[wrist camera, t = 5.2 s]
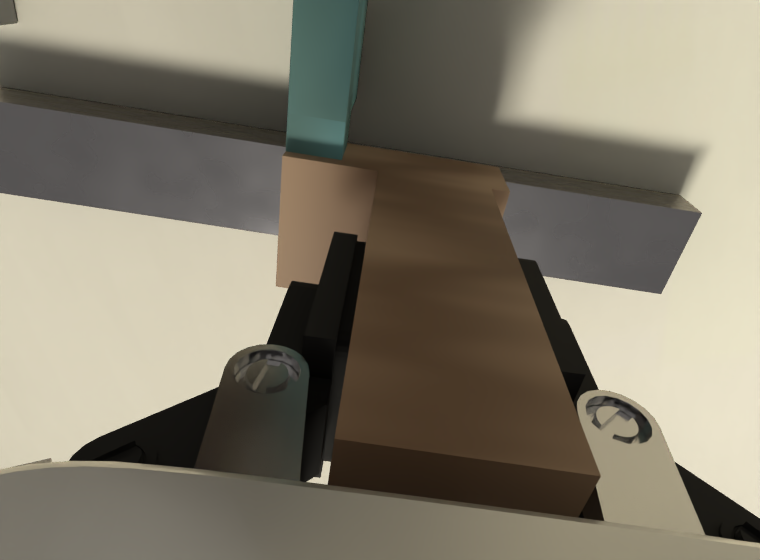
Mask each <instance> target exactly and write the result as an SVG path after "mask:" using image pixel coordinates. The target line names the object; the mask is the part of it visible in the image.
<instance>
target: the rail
mask: <svg viewBox="0 0 760 560" xmlns="http://www.w3.org/2000/svg"><path fill="white" fill-rule="evenodd" d="M286 133H287V132H280V131H274V130H268V129H262V128H255V127H249V126H243V125H236V124H230V123H224V122H218V121H211V120H205V119H199V118H193V117H186V116H180V115H174V114H167V113H161V112H155V111H149V110H142V109H136V108H130V107H124V106H117V105H111V104H105V103H98V102H92V101H86V100H80V99H73V98H67V97H61V96H55V95H48V94H42V93H36V92H30V91H23V90H17V89H11V88H4V87H0V193H5V194H11V195H18V196H24V197H31V198H37V199H44V200H50V201H57V202H63V203H70V204H77V205H83V206H90V207H96V208H103V209H109V210H116V211H122V212H129V213H135V214H142V215H148V216H155V217H161V218H168V219H174V220H181V221H188V222H194V223H201V224H207V225H214V226H220V227H227V228H233V229H240V230H246V231H253V232H259V233H266V234H272V235H278V234H279V213H280V193H281V173H282V156H283V154H284V153H285V151H286ZM347 143H349V142H347ZM349 144H355V145H362V144H356V143H349ZM362 146H368V145H362ZM368 147H374V146H368ZM374 148H381V147H374ZM381 149H387V148H381ZM387 150H393V149H387ZM393 151H399V152H406V151H400V150H393ZM406 153H412V152H406ZM412 154H418V153H412ZM418 155H424V156H431V155H425V154H418ZM431 157H437V156H431ZM437 158H443V157H437ZM443 159H450V158H443ZM450 160H456V159H450ZM456 161H462V160H456ZM462 162H468V161H462ZM468 163H475V162H468ZM475 164H481V163H475ZM481 165H487V164H481ZM487 166H493V167H499V169H500V171H501V173H502V175H503V178H504V180H505V182H506V184H507V186H508V188H509V191H510V194H509V197H508V201H507V204H506V208H505V211H504V214H503V221H504V223H505V226H506V229H507V231H508V234H509V236H510V239H511V242H512V244H513V247H514V250H515V252H516V255H517V257H518V258H522V259H528V260H535V261H536V262H537V264H538V267H539V269H540V271H541V274H542V276H547V277H553V278H560V279H566V280H573V281H579V282H586V283H592V284H599V285H606V286H612V287H619V288H625V289H632V290H638V291H645V292H651V293H658V294H661V293H662V291H663V289H664V287H665V285H666V283H667V281H668V279H669V277H670V275H671V273H672V271H673V269H674V267H675V265H676V263H677V261H678V259H679V257H680V255H681V254H682V252H683V250H684V248H685V246H686V244H687V242H688V240H689V238H690V236H691V234H692V232H693V230H694V228H695V226H696V224H697V222H698V220H699V218H700V216H701V214H702V213H701V212H700V211H699V210H698V209H696V208H695V207H694V206H693V205H691V204H690V203H689V202H688V201H687V200H685V199H684V198H683V197H682V196H680V195H675V194H669V193H663V192H657V191H650V190H644V189H638V188H632V187H625V186H619V185H613V184H606V183H600V182H594V181H588V180H581V179H575V178H569V177H563V176H556V175H550V174H544V173H537V172H531V171H525V170H519V169H512V168H506V167H500V166H494V165H487Z"/></svg>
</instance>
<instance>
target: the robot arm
mask: <svg viewBox="0 0 760 560" xmlns="http://www.w3.org/2000/svg"><path fill="white" fill-rule="evenodd" d="M357 238H358V235H356V234H349V233H342V232H335V231H334V234H333V237H332V241H331V244H330V247H329V251H328V254H327V258H326V261H325V264H324V268H323V271H322V274H321V278H320V281H319V284H312V283H305V282H298V281H291V283H290V285H289V288H288V290H287V293H286V295H285V298H284V301H283V303H282V306H281V308H280V311H279V314H278V316H277V319H276V321H275V324H274V326H273V329H272V332H271V334H270V337H269V339H268V342H267V344H266V345H256V346H252V347H248V348H246V349H244V350H241V351H239V352H237V353H236V354H235V355H234V356H233V357H232V358H230V359H229V361H228V363H227V364H226V366H225V368H224V372H223V375H222V378H221V382H220V385H219V387H218V388H215V389H213V390H210V391H208V392H206V393H203V394H201V395H198V396H196V397H194V398H191V399H189V400H187V401H184V402H182V403H179V404H177V405H175V406H172V407H170V408H167V409H165V410H163V411H160V412H158V413H155V414H153V415H151V416H148V417H146V418H144V419H141V420H139V421H136V422H134V423H132V424H129V425H127V426H124V427H122V428H120V429H117V430H115V431H113V432H110V433H108V434H105V435H103V436H101V437H99V438H97V439H95V440H93V441H91V442H89V443H88V444H86V445H84V446H83V447H82V448H81V449H80V450H78V451H77V452H76V453H75V454H74V455H73V456H72V457H71V459H70V460H69V461H64V462H52V459H51V458H49V459H45V460H41V461H36V462H32V463H28V464H23V465H19V466H15V467H10V468H5V469H0V560H760V518H758V517H757V516H755V515H754V514H752V513H751V512H749V511H748V510H746V509H745V508H743V507H742V506H740V505H739V504H737V503H736V502H734V501H733V500H731V499H730V498H728V497H727V496H725V495H724V494H722V493H721V492H719V491H718V490H716V489H715V488H713V487H712V486H710V485H709V484H707V483H706V482H704V481H703V480H701V479H700V478H698V477H697V476H695V475H694V474H692V473H691V472H689V471H688V470H686V469H685V468H683V467H682V466H680V465H679V464H677V463H676V462H674V459H673V457H672V455H671V452H670V450H669V448H668V445H667V443H666V441H665V438H664V436H663V433H662V431H661V429H660V427H659V425H658V423H657V422H656V420H655V418H654V417H653V416H652V415H651V414H650V413H649V412H648V411H647V410H646V409H645V408H643V407H642V406H641V405H639V404H638V403H636V402H635V401H633V400H631V399H629V398H627V397H625V396H623V395H621V394H617V393H614V392H611V391H604V390H599V389H598V387H597V385H596V383H595V381H594V378H593V376H592V374H591V372H590V370H589V367H588V365H587V363H586V361H585V359H584V356H583V354H582V352H581V350H580V347H579V345H578V343H577V341H576V339H575V336H574V334H573V332H572V330H571V328H570V325H569V324H568V322H567V321H566V320H564V319H561V317H560V315H559V312H558V310H557V308H556V306H555V303H554V301H553V299H552V296H551V294H550V292H549V290H548V287H547V285H546V283H545V280H544V278H543V276H542V274H541V271H540V269H539V267H538V264H537V262H536V261H535V260H528V259H522V258H518V260H519V263H520V265H521V268H522V270H523V273H524V276H525V278H526V281H527V284H528V286H529V289H530V291H531V294H532V297H533V299H534V302H535V305H536V307H537V310H538V312H539V315H540V318H541V320H542V323H543V326H544V328H545V331H546V333H547V336H548V339H549V341H550V344H551V347H552V349H553V352H554V354H555V357H556V360H557V362H558V365H559V367H560V370H561V373H562V375H563V378H564V381H565V383H566V386H567V388H568V391H569V394H570V396H571V399H572V402H573V404H574V407H575V409H576V412H577V415H578V417H579V420H580V423H581V425H582V428H583V430H584V433H585V436H586V438H587V441H588V443H589V446H590V449H591V451H592V454H593V457H594V459H595V462H596V464H597V467H598V470H599V472H600V475H601V477H600V479H599V481H598V483H597V484H596V486H595V488H594V490H593V492H592V493H591V495H590V497H589V499H588V501H587V502H586V504H585V506H584V508H583V510H582V511H581V513H580V515H579V517H578V518H577V517H570V516H562V515H555V514H547V513H540V512H532V511H525V510H517V509H510V508H502V507H495V506H487V505H480V504H472V503H464V502H457V501H449V500H442V499H434V498H426V497H419V496H411V495H403V494H396V493H388V492H380V491H372V490H364V489H356V488H348V487H340V486H333V485H325V484H317V483H309V482H307V481H308V480H310V479H312V478H313V477H319V478H320V477H321V471H322V466H323V461H330V462H331V459H332V452H333V445H334V438H335V432H336V426H337V420H338V414H339V408H340V401H341V395H342V389H343V383H344V377H345V371H346V365H347V358H348V352H349V346H350V340H351V334H352V328H353V322H354V315H355V309H356V303H357V297H358V291H359V285H360V279H361V272H362V266H363V260H364V254H365V246H366V242H361V241H357Z"/></svg>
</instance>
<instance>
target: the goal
mask: <svg viewBox="0 0 760 560" xmlns="http://www.w3.org/2000/svg"><path fill="white" fill-rule="evenodd" d="M14 23H17V18H16V13H15V8H14V3H13V0H0V25H6V24H14Z"/></svg>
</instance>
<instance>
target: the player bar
mask: <svg viewBox="0 0 760 560" xmlns="http://www.w3.org/2000/svg"><path fill="white" fill-rule="evenodd" d="M367 3H368V0H293V19H292V38H291V57H290V76H289V95H288V114H287V133H286V151H285V153H284V154H283V156H282V173H281V193H280V213H279V234H278V254H277V274H276V286H278V287H284V288H289V285H290V283H291V281H298V282H305V283H312V284H319V281H320V278H321V274H322V271H323V268H324V264H325V261H326V258H327V254H328V251H329V247H330V244H331V241H332V237H333V234H334V231H335V232H342V233H349V234H356V235H358V238H357V241H361V242H366V246H365V254H364V260H363V266H362V272H361V279H360V285H359V291H358V297H357V303H356V309H355V315H354V322H353V328H352V334H351V340H350V346H349V352H348V358H347V365H346V371H345V377H344V383H343V389H342V395H341V401H340V408H339V414H338V420H337V426H336V432H335V438H334V445H333V452H332V459H331V466H330V473H329V480H328V485H333V486H340V487H348V488H356V489H364V490H372V491H380V492H388V493H396V494H403V495H411V496H419V497H426V498H434V499H442V500H449V501H457V502H464V503H472V504H480V505H487V506H495V507H502V508H510V509H517V510H525V511H532V512H540V513H547V514H555V515H562V516H570V517H577V518H578V517H579V515H580V513H581V511H582V510H583V508H584V506H585V504H586V502H587V501H588V499H589V497H590V495H591V493H592V492H593V490H594V488H595V486H596V484H597V483H598V481H599V479H600V477H601V475H600V472H599V470H598V467H597V464H596V462H595V459H594V457H593V454H592V451H591V449H590V446H589V443H588V441H587V438H586V436H585V433H584V430H583V428H582V425H581V423H580V420H579V417H578V415H577V412H576V409H575V407H574V404H573V402H572V399H571V396H570V394H569V391H568V388H567V386H566V383H565V381H564V378H563V375H562V373H561V370H560V367H559V365H558V362H557V360H556V357H555V354H554V352H553V349H552V347H551V344H550V341H549V339H548V336H547V333H546V331H545V328H544V326H543V323H542V320H541V318H540V315H539V312H538V310H537V307H536V305H535V302H534V299H533V297H532V294H531V291H530V289H529V286H528V284H527V281H526V278H525V276H524V273H523V270H522V268H521V265H520V263H519V260H518V257H517V255H516V252H515V250H514V247H513V244H512V242H511V239H510V236H509V234H508V231H507V229H506V226H505V223H504V221H503V214H504V211H505V208H506V204H507V201H508V197H509V194H510V191H509V188H508V186H507V184H506V182H505V180H504V178H503V175H502V173H501V171H500V169H499V167H493V166H487V165H481V164H475V163H468V162H462V161H456V160H450V159H443V158H437V157H431V156H424V155H418V154H412V153H406V152H399V151H393V150H387V149H381V148H374V147H368V146H362V145H355V144H349V143H347V142H348V133H349V125H350V116H351V109H352V107H353V105H354V102H355V100H356V96H357V88H358V79H359V71H360V62H361V54H362V45H363V37H364V28H365V20H366V11H367Z"/></svg>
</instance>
